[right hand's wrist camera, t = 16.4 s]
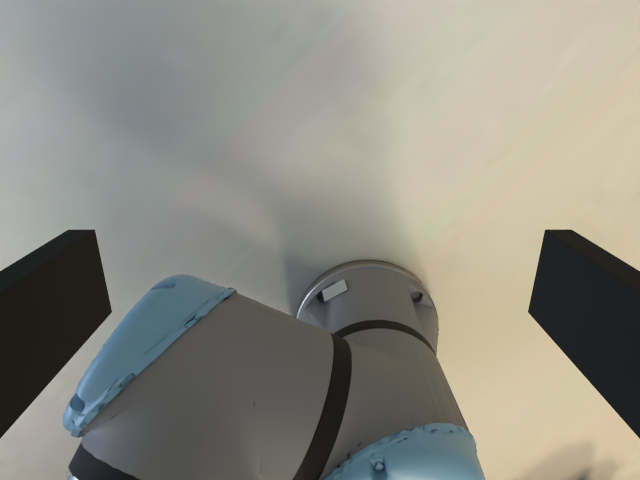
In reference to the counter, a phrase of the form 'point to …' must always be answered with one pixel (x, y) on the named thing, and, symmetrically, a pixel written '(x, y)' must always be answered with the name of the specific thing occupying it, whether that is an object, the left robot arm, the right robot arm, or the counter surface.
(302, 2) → the counter surface
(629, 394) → the right robot arm
